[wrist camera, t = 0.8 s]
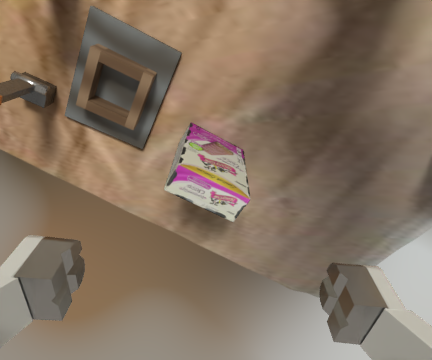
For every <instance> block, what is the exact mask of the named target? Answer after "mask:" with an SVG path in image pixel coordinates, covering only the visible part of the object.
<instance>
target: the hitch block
mask: <svg viewBox="0 0 432 360" xmlns="http://www.w3.org/2000/svg"><path fill="white" fill-rule="evenodd" d="M180 56H181V52H179V51H178V50H176V49H174V48H172V47H170V46H168V45H166V44H164V43H162V42H160V41H158V40H157V39H155V38H153V37H151V36H149V35H147V34H145V33H143V32H141V31H139V30H138V29H136V28H134V27H132V26H130V25H128V24H126V23H124V22H122V21H120V20H119V19H117V18H115V17H113V16H111V15H109V14H107V13H105V12H103V11H101V10H100V9H98V8H96V7H94V6H90V10H89V14H88V18H87V23H86V27H85V31H84V35H83V40H82V44H81V48H80V52H79V57H78V61H77V65H76V69H75V74H74V78H73V82H72V86H71V91H70V95H69V99H68V104H67V108H66V112H65V116H67V117H69V118H71V119H74V120H76V121H78V122H81V123H83V124H85V125H88V126H90V127H92V128H95V129H97V130H99V131H101V132H104V133H106V134H108V135H111V136H113V137H115V138H118V139H120V140H122V141H125V142H127V143H129V144H131V145H134V146H136V147H138V148H141V149H143V147H144V145H145V142H146V140H147V137H148V135H149V132H150V130H151V128H152V125H153V123H154V120H155V118H156V115H157V113H158V110H159V108H160V105H161V103H162V100H163V98H164V95H165V93H166V90H167V88H168V85H169V83H170V80H171V78H172V76H173V73H174V71H175V68H176V66H177V63H178V61H179V58H180Z"/></svg>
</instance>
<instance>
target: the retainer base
mask: <svg viewBox="0 0 432 360" xmlns="http://www.w3.org/2000/svg"><path fill="white" fill-rule="evenodd" d="M17 78H19V79H22V80H24V81H26V82H28V83H31V84H33V85H35V89H34V92H32V93H29V94H26V95H23V96H20V98H22V99H25V100H27V101H29V102H32V103H34V104H36V105H39V106H41V107H43V108H45V107H46V106H48V105H50V104H51V103H53V101H54V96H55V91H56V87H57V86H55V85H52V84H50V83H48V82H46V81H44V80H41V79H39V78H37V77H35V76H33V75H30V74H28V73H26V72H24V73H19V72H16V71H14V72H13V73H12V74H11V80H14V79H17Z"/></svg>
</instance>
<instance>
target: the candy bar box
mask: <svg viewBox="0 0 432 360" xmlns="http://www.w3.org/2000/svg"><path fill="white" fill-rule="evenodd" d="M164 190H165V191H167V192H170V193H172V194H174V195H176V196H178V197H180V198H182V199H185V200H187V201H189V202H191V203H193V204H195V205H197V206H199V207H202V208H204V209H206V210H208V211H210V212H212V213H214V214H217V215H219V216H221V217H223V218H225V219H227V220H229V221H231V222H234V221H235V219H236V218H237V216H238V215H239V214H240V212H241V211H242V210H243V208H244V207H245V206H246V205H247V204H248V202H249V201H250V193H249V186H248V179H247V173H246V166H245V159H244V151H243V150H242V149H240V148H238V147H236V146H235V145H233V144H231V143H229V142H227V141H225V140H223V139H221V138H219V137H218V136H216V135H214V134H212V133H210V132H208V131H206V130H204V129H202V128H201V127H199V126H197V125H195V124H193V123H190V125H189V126H188V128H187V130H186V132H185V133H184V135H183V137H182V139H181V140H180V142H179V145H178V148H177V151H176V154H175V157H174V160H173V163H172V167H171V169H170V173H169V175H168V178H167V181H166V184H165V187H164Z"/></svg>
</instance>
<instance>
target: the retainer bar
mask: <svg viewBox="0 0 432 360" xmlns="http://www.w3.org/2000/svg"><path fill="white" fill-rule="evenodd" d="M34 89H35V85H33V84H31V83H28V82H26V81H24V80H22V79H19V78H17V79H14V80H10V81H6V82H2V83H0V105H1V103H4V102H7V101H9V100H12V99H15V98H18V97H20V96H23V95H26V94H29V93H32V92H34Z"/></svg>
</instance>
